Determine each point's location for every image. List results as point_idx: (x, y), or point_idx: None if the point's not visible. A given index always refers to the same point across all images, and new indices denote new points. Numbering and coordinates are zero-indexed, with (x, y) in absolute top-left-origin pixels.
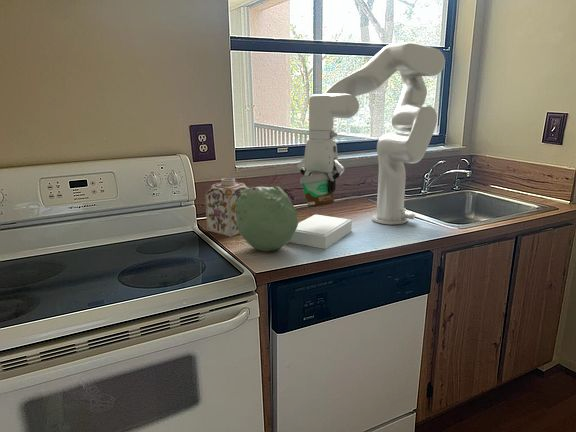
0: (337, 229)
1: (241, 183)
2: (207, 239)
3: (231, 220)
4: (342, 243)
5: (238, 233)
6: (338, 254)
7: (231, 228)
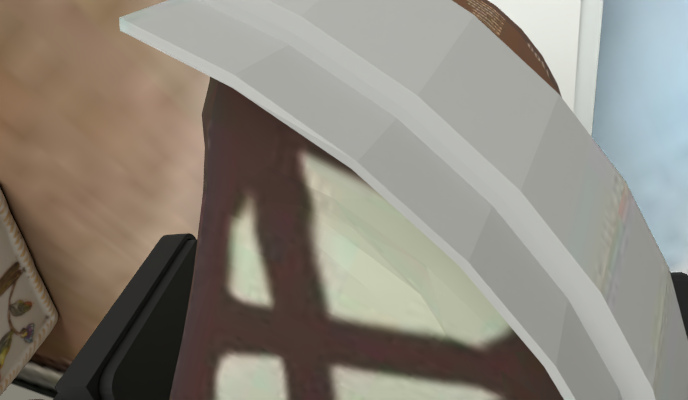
0: (592, 99)
1: None
2: (33, 373)
3: (5, 379)
4: (624, 91)
5: (41, 280)
6: (664, 255)
7: (36, 348)
